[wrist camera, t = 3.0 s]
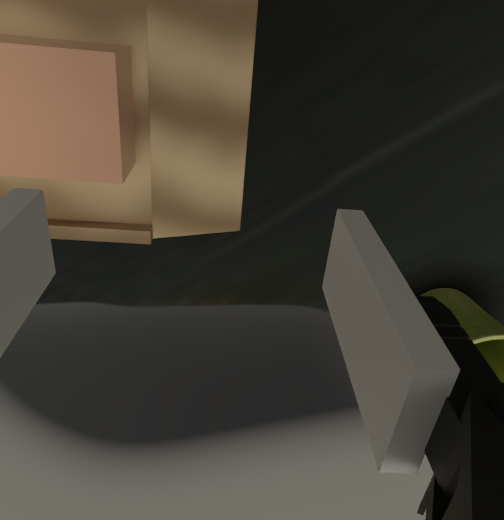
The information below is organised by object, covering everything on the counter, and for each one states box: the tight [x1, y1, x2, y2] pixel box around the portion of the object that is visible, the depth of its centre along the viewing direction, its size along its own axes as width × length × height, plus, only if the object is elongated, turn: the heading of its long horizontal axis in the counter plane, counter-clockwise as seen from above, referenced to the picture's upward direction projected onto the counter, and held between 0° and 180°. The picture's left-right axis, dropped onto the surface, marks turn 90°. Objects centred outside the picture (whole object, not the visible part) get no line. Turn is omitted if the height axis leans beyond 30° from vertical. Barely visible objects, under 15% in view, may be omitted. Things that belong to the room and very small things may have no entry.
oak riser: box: [0, 0, 258, 244], centre depth 29 cm, size 18×19×4 cm
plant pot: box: [420, 288, 504, 383], centre depth 36 cm, size 9×9×9 cm
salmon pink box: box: [0, 34, 136, 184], centre depth 26 cm, size 7×8×4 cm
